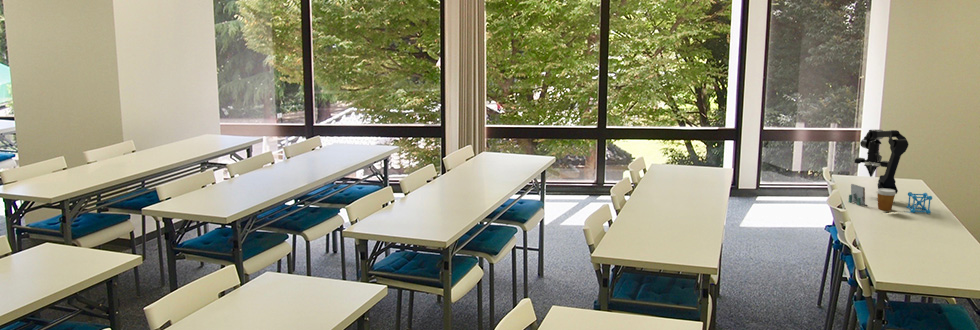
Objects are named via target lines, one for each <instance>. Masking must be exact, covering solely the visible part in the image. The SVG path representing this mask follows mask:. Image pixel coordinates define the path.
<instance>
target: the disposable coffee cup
mask: <svg viewBox="0 0 980 330" xmlns="http://www.w3.org/2000/svg"><path fill="white" fill-rule="evenodd" d="M876 194H877V210H879V211H883V213H886V214H887V213H888V214H889V213H890V212H891V211H892V209H893V208H892V207H893V206H894V203H893V202H894V201H895V196H896V195H897V194H896V192H895V190H893V189H886V188H880V189H878V188H877V190H876Z"/></svg>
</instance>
